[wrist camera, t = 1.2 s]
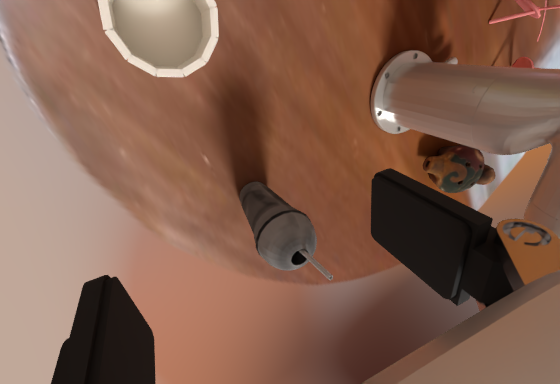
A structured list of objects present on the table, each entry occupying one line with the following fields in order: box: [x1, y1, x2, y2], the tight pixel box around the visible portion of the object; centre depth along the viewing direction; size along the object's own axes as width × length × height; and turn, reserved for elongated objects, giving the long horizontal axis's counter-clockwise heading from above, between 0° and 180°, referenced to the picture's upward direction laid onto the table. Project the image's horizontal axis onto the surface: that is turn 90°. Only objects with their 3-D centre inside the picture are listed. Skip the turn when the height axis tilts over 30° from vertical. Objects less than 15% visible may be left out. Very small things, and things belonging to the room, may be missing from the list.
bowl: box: [98, 0, 219, 77], centre depth 27 cm, size 10×10×6 cm
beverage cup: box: [240, 182, 333, 280], centre depth 34 cm, size 7×7×20 cm
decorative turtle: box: [423, 145, 495, 193], centre depth 54 cm, size 10×15×8 cm, turn 81°
